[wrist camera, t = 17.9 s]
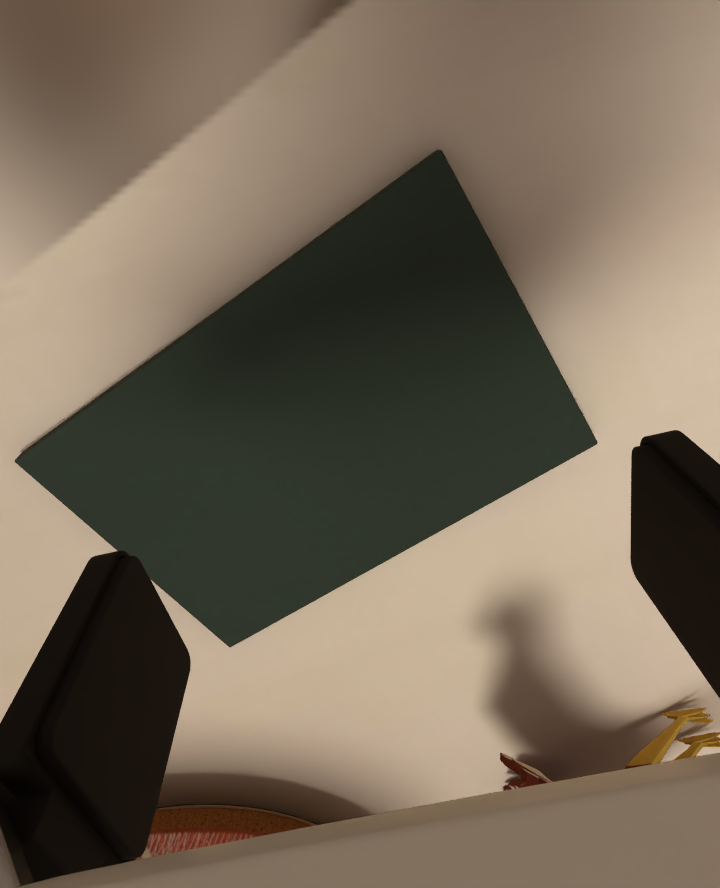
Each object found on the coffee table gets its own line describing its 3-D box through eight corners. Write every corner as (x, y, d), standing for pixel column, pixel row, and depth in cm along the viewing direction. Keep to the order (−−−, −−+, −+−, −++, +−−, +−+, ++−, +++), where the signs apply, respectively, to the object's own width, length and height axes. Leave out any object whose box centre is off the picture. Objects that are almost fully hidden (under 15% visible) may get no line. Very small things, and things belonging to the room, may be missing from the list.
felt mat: (20, 453, 21) (13, 461, 21) (437, 149, 17) (441, 149, 17) (231, 637, 27) (229, 648, 26) (592, 436, 22) (598, 443, 22)
